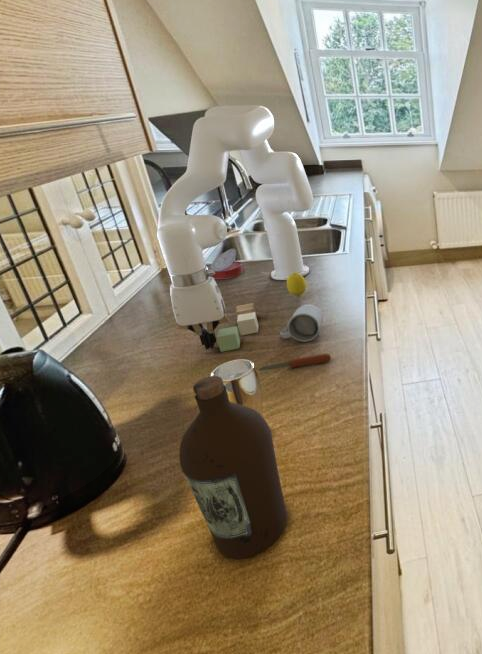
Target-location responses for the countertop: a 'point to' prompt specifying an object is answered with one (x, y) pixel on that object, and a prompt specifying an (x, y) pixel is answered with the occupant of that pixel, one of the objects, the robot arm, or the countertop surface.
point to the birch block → (245, 309)
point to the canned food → (226, 265)
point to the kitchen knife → (300, 362)
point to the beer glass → (241, 383)
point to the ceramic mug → (304, 324)
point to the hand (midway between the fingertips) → (210, 346)
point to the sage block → (228, 338)
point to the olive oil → (233, 472)
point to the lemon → (296, 284)
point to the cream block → (247, 323)
